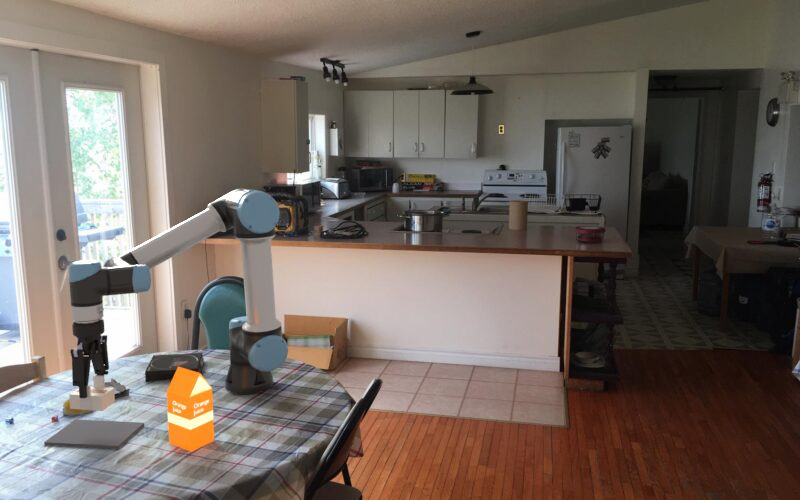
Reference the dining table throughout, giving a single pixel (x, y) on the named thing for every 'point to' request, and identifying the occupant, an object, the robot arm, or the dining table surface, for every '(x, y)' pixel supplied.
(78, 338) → the robot arm
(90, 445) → the charcoal mat
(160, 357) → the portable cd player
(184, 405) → the orange juice
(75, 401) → the block
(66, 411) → the bread roll
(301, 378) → the dining table surface
